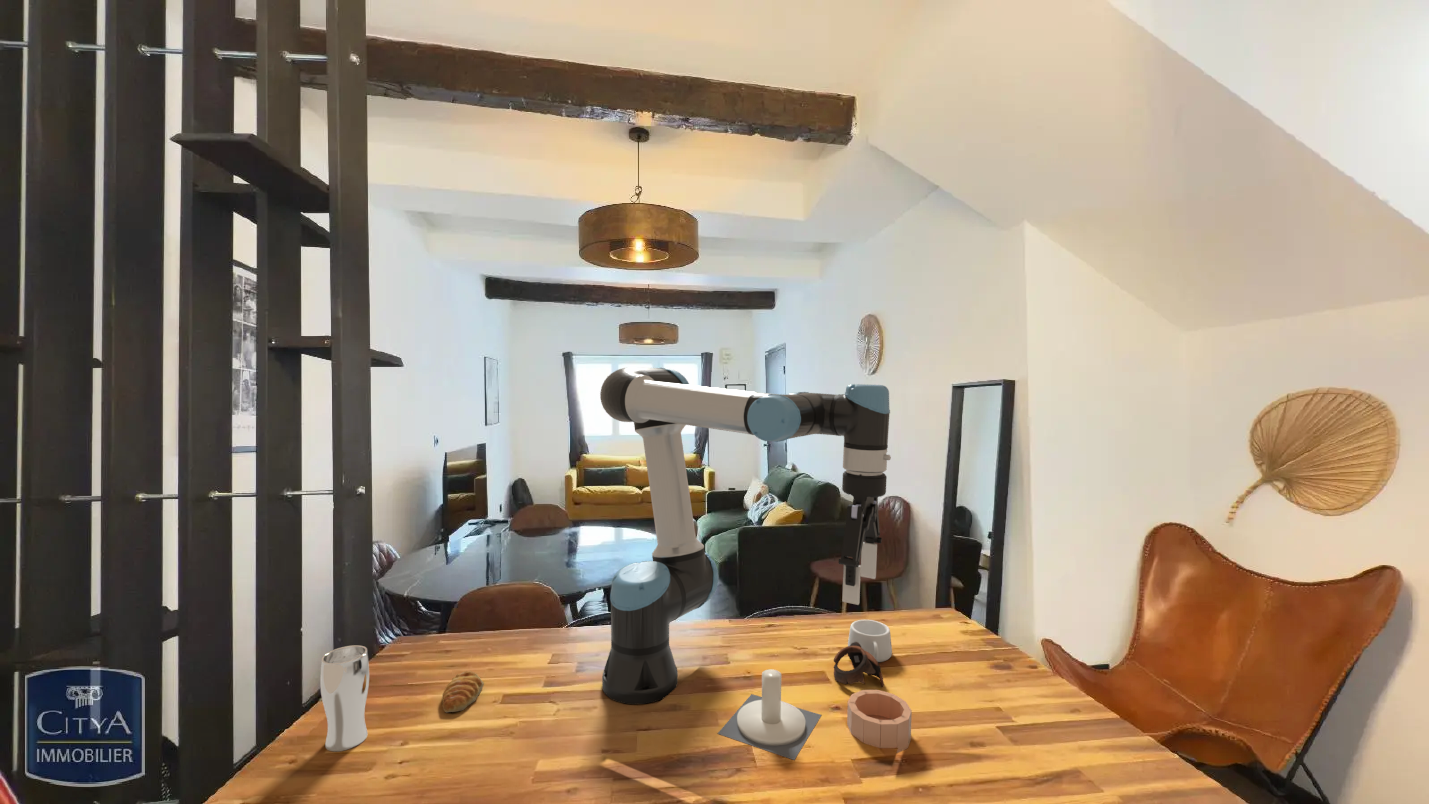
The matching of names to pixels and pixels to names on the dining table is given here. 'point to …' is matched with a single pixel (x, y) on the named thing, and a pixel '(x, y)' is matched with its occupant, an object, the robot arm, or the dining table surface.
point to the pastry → (462, 691)
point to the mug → (872, 638)
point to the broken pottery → (857, 665)
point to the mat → (782, 750)
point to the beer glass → (345, 696)
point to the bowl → (879, 719)
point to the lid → (771, 715)
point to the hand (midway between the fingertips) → (859, 589)
